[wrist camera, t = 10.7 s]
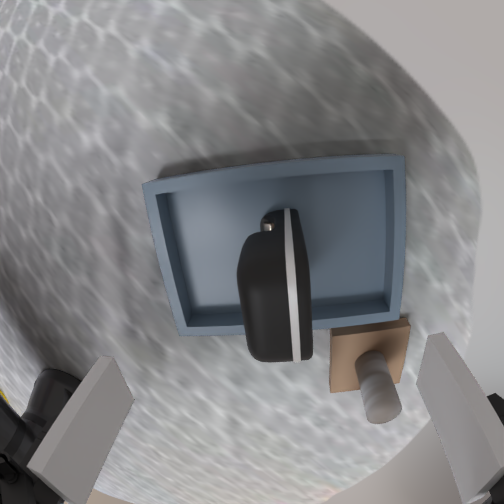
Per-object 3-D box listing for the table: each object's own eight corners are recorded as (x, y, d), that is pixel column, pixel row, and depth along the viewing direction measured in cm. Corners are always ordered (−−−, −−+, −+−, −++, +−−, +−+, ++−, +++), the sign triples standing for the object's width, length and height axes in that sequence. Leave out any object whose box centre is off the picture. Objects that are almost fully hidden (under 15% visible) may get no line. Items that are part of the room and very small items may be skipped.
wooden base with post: (329, 383, 31) (336, 443, 23) (330, 326, 29) (342, 389, 21) (395, 373, 30) (415, 429, 22) (405, 317, 27) (436, 372, 19)
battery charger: (250, 208, 24) (224, 264, 14) (297, 204, 24) (309, 257, 13) (260, 286, 27) (245, 378, 16) (303, 283, 26) (313, 374, 16)
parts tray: (187, 318, 30) (179, 336, 27) (156, 178, 25) (141, 184, 22) (389, 302, 27) (398, 319, 24) (390, 153, 22) (404, 155, 19)
